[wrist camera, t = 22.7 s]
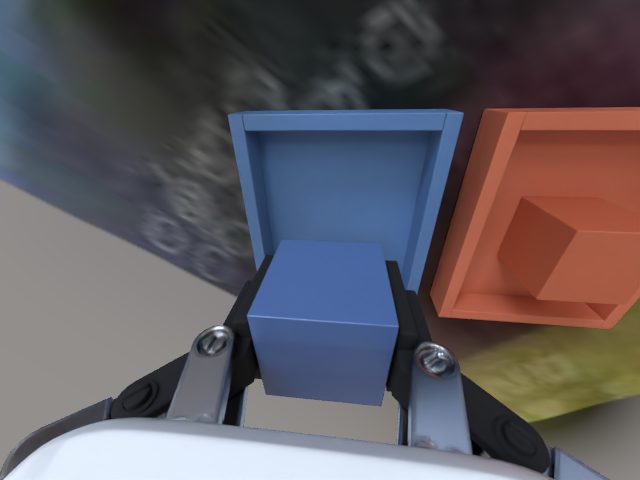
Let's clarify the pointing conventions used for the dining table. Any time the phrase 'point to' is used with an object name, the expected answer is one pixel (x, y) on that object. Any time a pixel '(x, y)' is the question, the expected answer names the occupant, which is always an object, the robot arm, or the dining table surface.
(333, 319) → the slate-blue block
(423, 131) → the slate-blue tray
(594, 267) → the terracotta block
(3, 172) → the dining table surface
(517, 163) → the terracotta tray
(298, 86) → the dining table surface
